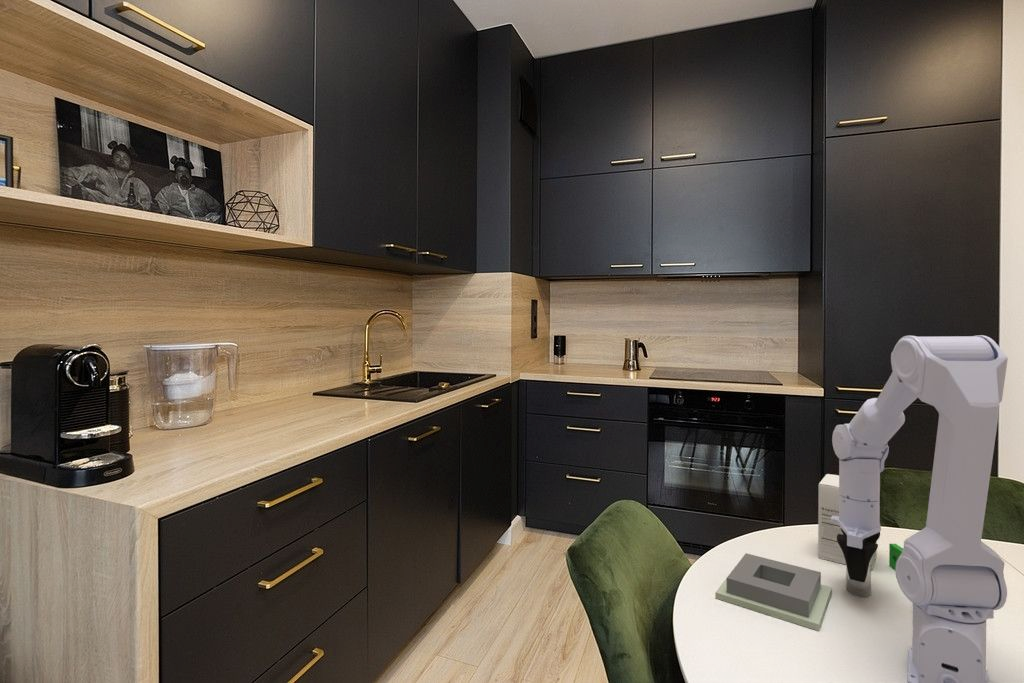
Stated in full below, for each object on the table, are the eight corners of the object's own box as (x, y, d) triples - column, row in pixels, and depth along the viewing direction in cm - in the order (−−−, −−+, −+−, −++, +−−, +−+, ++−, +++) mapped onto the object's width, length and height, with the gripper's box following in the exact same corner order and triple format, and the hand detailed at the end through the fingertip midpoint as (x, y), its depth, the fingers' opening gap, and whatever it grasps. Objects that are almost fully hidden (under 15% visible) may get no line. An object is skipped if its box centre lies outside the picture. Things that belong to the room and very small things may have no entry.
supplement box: (825, 543, 106) (825, 472, 106) (877, 555, 100) (878, 480, 100) (816, 558, 99) (816, 482, 99) (872, 572, 94) (872, 492, 93)
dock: (819, 631, 75) (819, 607, 75) (715, 598, 85) (715, 577, 85) (831, 592, 86) (832, 572, 86) (738, 567, 96) (738, 549, 96)
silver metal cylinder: (870, 600, 84) (870, 552, 84) (844, 593, 86) (845, 546, 86) (871, 591, 87) (872, 545, 86) (847, 585, 89) (847, 540, 89)
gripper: (836, 482, 94) (836, 554, 94) (825, 502, 83) (824, 584, 83) (883, 489, 90) (882, 565, 90) (878, 512, 78) (877, 598, 79)
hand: (858, 575), depth 86 cm, fingers closed on silver metal cylinder, 3 cm apart
